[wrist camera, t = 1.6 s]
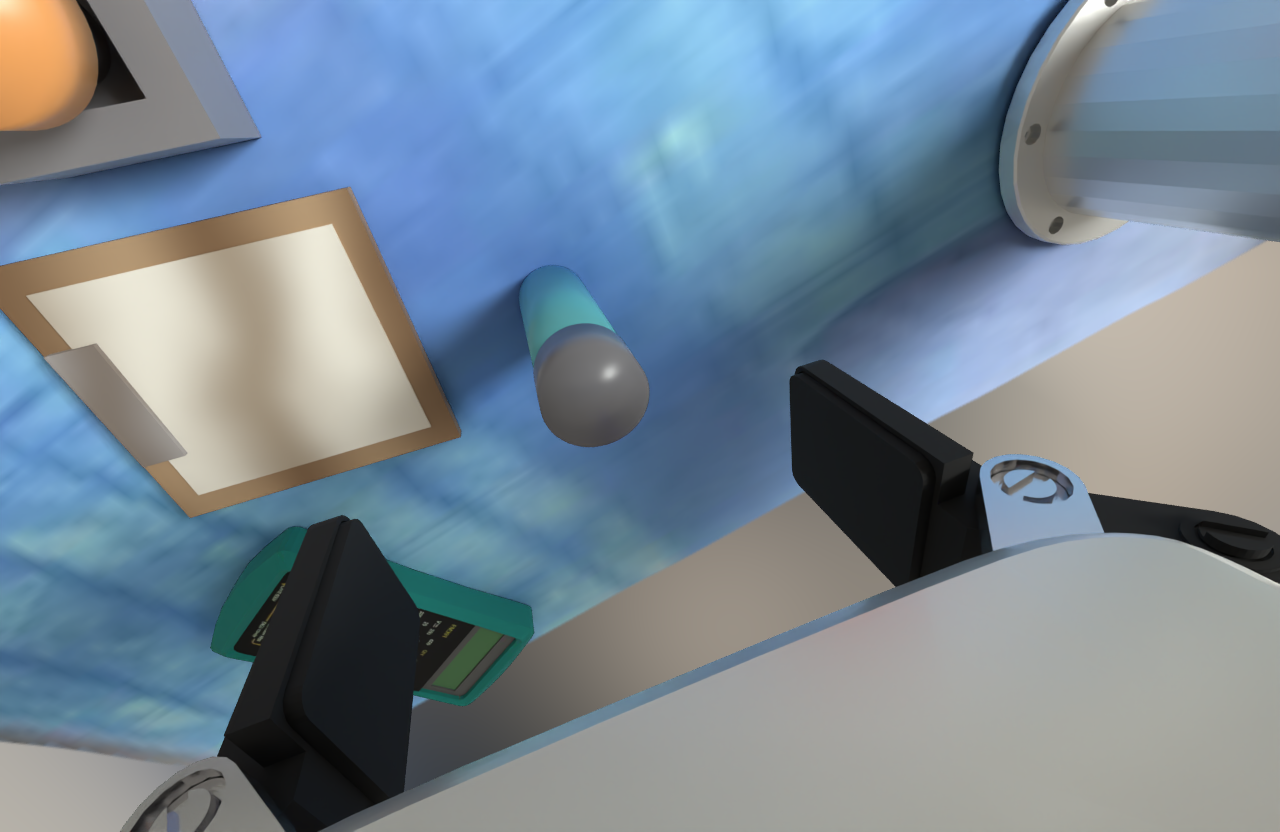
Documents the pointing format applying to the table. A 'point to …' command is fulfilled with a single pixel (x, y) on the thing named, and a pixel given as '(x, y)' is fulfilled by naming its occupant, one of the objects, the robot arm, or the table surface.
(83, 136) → the button housing
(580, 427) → the marker
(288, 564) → the digital multimeter
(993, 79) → the table surface
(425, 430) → the clipboard
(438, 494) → the table surface
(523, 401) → the table surface
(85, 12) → the button
